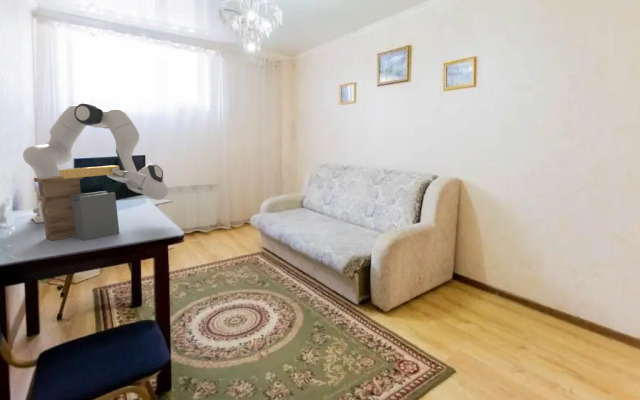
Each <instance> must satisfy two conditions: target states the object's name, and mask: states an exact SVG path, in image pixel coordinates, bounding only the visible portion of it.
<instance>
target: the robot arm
mask: <svg viewBox="0 0 640 400" xmlns="http://www.w3.org/2000/svg"><path fill="white" fill-rule="evenodd" d="M87 126H89V127H93V128H101V129H108V130H109V131H110V132H111V134H112V137H114V142H115V154H116V155H117V158H118V162H119V163H120V165H121V168H122V170H120V169H119V170H117V169H115V168H111V170H110V171H111V172H113V173H115V174H111V175H106V177H107V178H110V179H112V180H114V181H117V182H119V183H125V186H127V189H129V191H130V190H131V191H133V192H134V193H137V194H142V195H144V196H145V197H148V198H150V199H152V200H157V201H161V200H164V199H165V197H166V196H167V195H168V193H169V188H168V186H167V185H166V183H165V181H164V171H163V169H162V168H161V166H159V165H157V164H155V163H148V164H147V165H145V166H144V167H142V168H141V169H139V170H138V171H137V167H136V166H135V163H134V160H133V157H132V155H133V153H134V149H135V148H136V147H137V146H138V144H139V141H140V134H139V130H138V129H137V127H136V125H135V124H134V122H133V121H132V119H131V118H130V117H129V115H128V114H127V113H126V112H125V111H124V110H123V109H121V108H117V107H116V108H112V109H111V108H110V107H109V108H108V107H105V106H102V105H100V104H93V103H89V102H86V103H85V102H84V103H83V102H81V103H80V104H71V105H70V106H68V108H66V109H65V110H64V111H63V112H62V113H61V115H60V116H59V117H58V118H57V120H56V121H55V123H54V124H53V125H52V126H51V128H50V129H49V135H50V138H49V141H48V142H47V143H46V144H35V145H31V146H29V147H26V148H25V149H24V151H23V153H22V157H23V160H24V162H25V163H26V164H28V165H29V166H30V167H31V168H32V170H33V171H34V174H35V176H36V178H40V177H52V176H60V175H59V168H58V166H61V165H64V164H67V163H68V162H70V161H71V159H72V152H71V151H72V148H73V145H74V144H75V142H76V140H77V139H78V138H79V136H80V135H81V133H82V132H83V131H84V129H85V128H86V127H87ZM38 198H39V202H38V204H37V205H36V207H35V208H33V209H32V212H33V214H35V215H32V216H31V218H32V219H33V220H34V221H33V220H32V221H33V222H34V223H37V224H39V223H44V219H43V212H42V205H41V198H40V194H39V195H38ZM31 218H30V219H31Z"/></svg>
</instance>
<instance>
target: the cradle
mask: <svg viewBox="0 0 640 400" xmlns="http://www.w3.org/2000/svg"><path fill="white" fill-rule="evenodd" d="M71 200H72V208H73V216H74V224H75V232H76V236H75V238H76V239H80V240H82V241H90V240H95V239H99V238H103V237H108V236H111V235H116V234H117V235H118V234H120V226H119V216H118V208H117V207H118V206H117V198H116V192H108V191H107V190H103V191H95V192H87V193H81V194H77V195H71Z"/></svg>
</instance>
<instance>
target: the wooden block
mask: <svg viewBox="0 0 640 400" xmlns="http://www.w3.org/2000/svg"><path fill="white" fill-rule="evenodd" d="M111 168H115V169H117V170H120V166H119V165H103V166H90V167H89V166H88V167H75V168H74V167H73V168H61V169H59V168H58V170H59V175H60V178H62V179H67V178H78V177H83V178H87V177H88V178H89V177H99V176H107V175H111V174H115V173H113V172H111V171H110V170H111Z"/></svg>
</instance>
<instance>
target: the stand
mask: <svg viewBox="0 0 640 400" xmlns="http://www.w3.org/2000/svg"><path fill="white" fill-rule="evenodd" d="M83 179H84V177H78V178H67V179H62V178H60V176H52V177H40V178H37V177H33V180H34V182H35V183H38V189H39V195H40V198H41V205H42V212H43V219H44V222H43V224H44V232H45V239H46V240H49V241H57V240H62V239H65V238H71V237H76V232H75V224H74V216H73V208H72V200H71V195H77V194H82V188H81V181H80V180H83Z"/></svg>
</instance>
